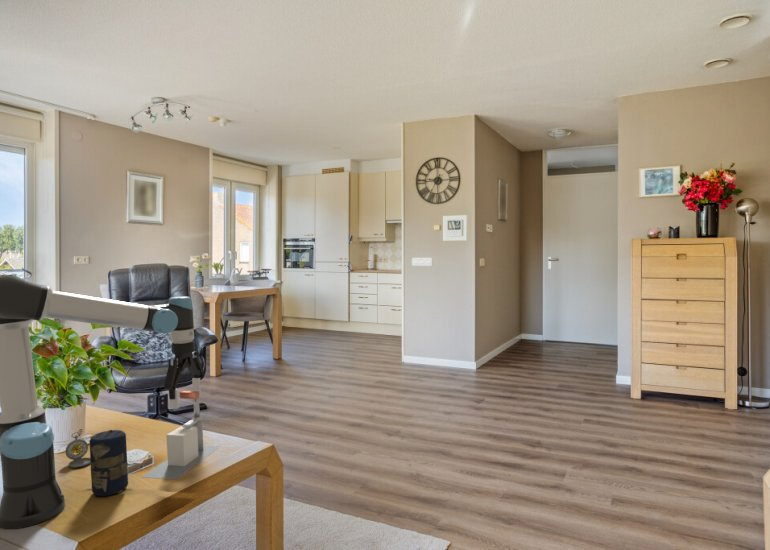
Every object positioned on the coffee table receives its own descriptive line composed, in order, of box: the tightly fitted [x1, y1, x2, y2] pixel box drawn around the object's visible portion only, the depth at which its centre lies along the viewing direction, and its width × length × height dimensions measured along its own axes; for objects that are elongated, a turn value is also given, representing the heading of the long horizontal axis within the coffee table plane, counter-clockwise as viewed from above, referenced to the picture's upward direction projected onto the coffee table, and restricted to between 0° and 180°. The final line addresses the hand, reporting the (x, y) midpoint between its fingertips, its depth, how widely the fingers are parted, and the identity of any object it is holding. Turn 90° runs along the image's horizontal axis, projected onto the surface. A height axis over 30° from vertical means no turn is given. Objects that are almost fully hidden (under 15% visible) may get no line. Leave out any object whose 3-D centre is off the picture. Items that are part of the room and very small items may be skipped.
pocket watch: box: [65, 431, 90, 469], centre depth 170 cm, size 8×8×10 cm
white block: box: [165, 425, 198, 466], centre depth 167 cm, size 8×6×10 cm
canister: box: [89, 429, 129, 497], centre depth 149 cm, size 10×10×18 cm
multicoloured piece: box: [179, 390, 203, 428], centre depth 173 cm, size 9×7×10 cm
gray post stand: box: [141, 419, 221, 480], centre depth 167 cm, size 26×12×11 cm, turn 169°
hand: (186, 402), depth 176 cm, fingers open, 13 cm apart
